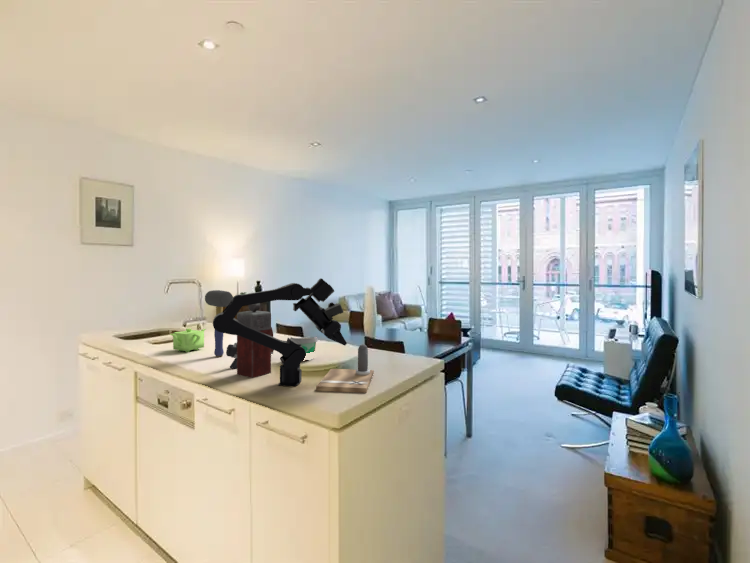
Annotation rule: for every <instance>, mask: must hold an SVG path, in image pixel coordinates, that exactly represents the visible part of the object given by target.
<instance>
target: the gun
mask: <svg viewBox="0 0 750 563" xmlns="http://www.w3.org/2000/svg"><path fill="white" fill-rule="evenodd" d="M274 351H275V350H273V352H271V354H273V355H274ZM225 353H226V357H229V358H232V359H234V360H232V363H231V364H230V366H229V368H230V369H236V370H237V342H234V344H231V343H229V344H228V346H227V347H226V352H225Z"/></svg>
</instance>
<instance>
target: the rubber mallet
mask: <svg viewBox="0 0 750 563" xmlns="http://www.w3.org/2000/svg"><path fill="white" fill-rule="evenodd" d="M233 297H234V295H233V294H232V293H231V292H229V291H227V290H219V289H218V290H217V289H215V290H209V291H207V292H206V293H205V295H204V301H205V303H206V304H207V305H208V306H211V307H215V316H216V315H217V314H219V313H222V312H223V308H226V307H227V306H228V304H229V303H230V302H231V301H232V299H233ZM223 341H224V333H221V332H218V331H216V330H215V329H214V352H213V353H214V355H215V357H217V358H218V357H223V355H224V353H225V352H224V343H223Z"/></svg>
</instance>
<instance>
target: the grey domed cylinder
mask: <svg viewBox="0 0 750 563" xmlns="http://www.w3.org/2000/svg"><path fill="white" fill-rule="evenodd" d="M368 358H369V348H368V346H367V345H366V344H360V345H359V346H358V348H357V369H355V370H356V375H361V376H364V375H369V374H370V370H371V369H368V368H369V367H368V366H369V364H368V363H369V359H368Z"/></svg>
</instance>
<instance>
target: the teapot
mask: <svg viewBox="0 0 750 563" xmlns="http://www.w3.org/2000/svg"><path fill="white" fill-rule="evenodd" d="M206 330H207V328H203V329H201V330H197V329H196V330H195V329H192V328H186V329H185V330H183V331H176V332H173V333H170V334H169V335H170V336H172V338H173V339H172V349H173V350H175V351H176V350H178V352H185V353H191V351H192V350H194V351H200V349H202V348H205V331H206Z"/></svg>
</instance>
